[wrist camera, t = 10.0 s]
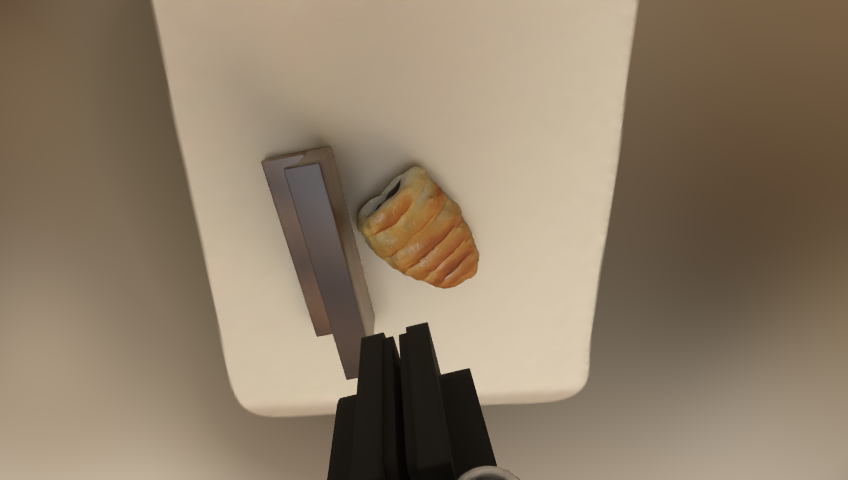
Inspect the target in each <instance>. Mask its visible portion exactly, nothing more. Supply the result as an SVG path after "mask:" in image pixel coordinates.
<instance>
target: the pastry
mask: <svg viewBox="0 0 848 480" xmlns="http://www.w3.org/2000/svg"><path fill="white" fill-rule="evenodd" d="M357 229H358V231H359V232H361V233H362V235H363V236H364V238H365V241H366V243H367V244H368V246H369V247H370V248H371V249H372V250H373V251H374V252H375V253H376V255H378V256H379V257H381V258H382V259H383V260H385V261H386V262H387V263H388V264H389V265H390V266H392V267H393V268H394V269H397V270H399V271H400V272H402V273H403V274H404V275H407V276H411V277H413V278H414V279H416V280H422V281H425V282H427V283H429V284H431V285H434V286H435V287H439V288H443V289H446V288H451V287H455V286H457V285H459V284H460V283H462V282H464V281H465V280H467V279H469V278H472V277H473V276H474V275H475V274H476V273H477V266H478V261H479V252H478V250H477V248H476V245H475V244H474V239H473V237H472V233H471V231H470V229H469V227H468V225H467V224H466V222H465V221H464V219H463V217H462V215H461V209H460V207H459V206H458V205H457V204H456V203H455V202H453V201H451V200H450V199H449V198H448V197H447V195H446V194H445V193H444V192H443V191H442V190H441V189H440V188H439V187H438V185H437V184H436V183H435V182H433V180H432V179H431V178H430V177H429V176H428V175H427V173H426V170H425V169H423V168H421V167H411V168H410V169H409V170H408V171H407V172H405V173H403V174H401V175H399V176H398V177H396V178H395V179H394V180H393V181H392V182H391V183H390V184H389V186H388V187H387V188H386V189H385V190H384V191H383V193H382V194H381V195H380V196H378V197H375V198H373V199H371V200H370V201H368V202H367V204H366V205H365V206H363V207H362V209H361V210H360V212H359V215H358V218H357Z"/></svg>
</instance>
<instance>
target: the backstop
mask: <svg viewBox="0 0 848 480" xmlns="http://www.w3.org/2000/svg"><path fill="white" fill-rule="evenodd" d="M261 163H262V166H263V169H264V172H265V176H266V179H267V182H268V185H269V188H270V191H271V194H272V197H273V201H274V204H275V207H276V210H277V213H278V216H279V219H280V223H281V226H282V229H283V232H284V235H285V238H286V241H287V244H288V248H289V251H290V254H291V257H292V260H293V263H294V266H295V270H296V273H297V276H298V279H299V282H300V285H301V288H302V292H303V295H304V298H305V301H306V304H307V307H308V310H309V313H310V317H311V320H312V323H313V326H314V329H315V332H316V335H317V337H318V336H324V335H329V334H333V336H334V340H335V343H336V346H337V349H338V353H339V356H340V359H341V363H342V366H343V369H344V373H345V376H346V379H347V380H349V379H354V378H358V372H359V360H360V347H361V338H362V337H366V336H371V335H374V322H375V317H374V313H373V309H372V305H371V301H370V297H369V293H368V289H367V285H366V281H365V277H364V273H363V269H362V265H361V261H360V257H359V253H358V249H357V245H356V241H355V237H354V233H353V229H352V225H351V221H350V217H349V213H348V209H347V205H346V202H345V198H344V194H343V190H342V186H341V182H340V178H339V174H338V170H337V166H336V162H335V158H334V154H333V150H332V147H331V146H330V147H324V148H319V149H314V150H309V151H303V152H297V153H292V154H287V155H281V156H276V157H271V158H266V159H265V160H263V161H262V162H261Z"/></svg>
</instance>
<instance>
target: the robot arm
mask: <svg viewBox="0 0 848 480" xmlns="http://www.w3.org/2000/svg"><path fill="white" fill-rule="evenodd" d="M399 345H400V357H399V354H398V350H397V347H396V344H395V340H394V338H393V336H392V337H388V338H386V337H385V334H384V333H379V334H375V335H371V336H366V337H362V338H361V347H360V360H359V372H358V385H357V394H356V395H352V396H348V397H343V398H340V399H339V401H338V404H337V410H336V419H335V426H334V434H333V440H332V449H331V456H330V463H329V471H328V478H327V480H520V479H519V478H518V477H517V476H515V475H514V474H513V473H511V472H510V471H508V470H506V469H503V468H500V467H497V464H496V461H495V457H494V454H493V450H492V447H491V443H490V439H489V436H488V432H487V429H486V425H485V421H484V418H483V415H482V411H481V407H480V404H479V400H478V396H477V393H476V389H475V386H474V382H473V379H472V375H471V372H470V369H469V368H468V369H464V370H459V371H455V372H451V373H446V374H442V375H441V373H440V369H439V365H438V361H437V357H436V353H435V349H434V346H433V342H432V338H431V334H430V330H429V326H428V323H427V322H426V323H422V324H418V325H414V326H409V327H406V333H405V334H401V335H399Z"/></svg>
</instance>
